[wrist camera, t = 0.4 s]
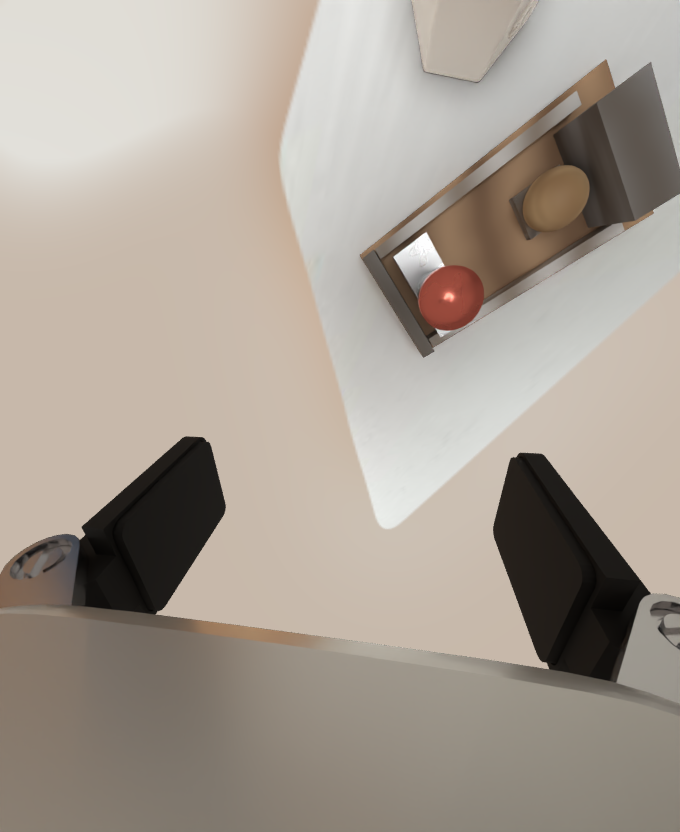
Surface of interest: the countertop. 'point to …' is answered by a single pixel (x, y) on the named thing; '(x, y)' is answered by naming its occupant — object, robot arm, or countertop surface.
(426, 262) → the handle
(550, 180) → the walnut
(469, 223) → the press base
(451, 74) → the jar
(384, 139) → the countertop surface
